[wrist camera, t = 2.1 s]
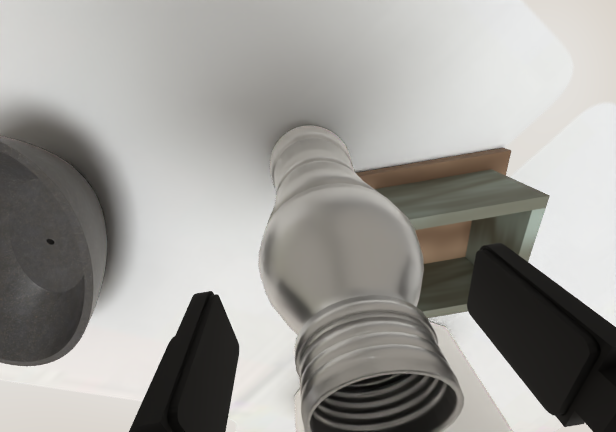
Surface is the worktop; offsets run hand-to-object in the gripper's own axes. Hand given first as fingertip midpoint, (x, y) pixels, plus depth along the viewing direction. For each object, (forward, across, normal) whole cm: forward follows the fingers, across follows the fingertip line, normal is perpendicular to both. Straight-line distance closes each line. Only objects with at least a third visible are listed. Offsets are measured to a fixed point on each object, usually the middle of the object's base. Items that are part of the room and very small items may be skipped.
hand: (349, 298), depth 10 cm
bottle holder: (+16, -11, +8) cm, 21 cm away
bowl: (+16, +24, +2) cm, 29 cm away
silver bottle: (+16, 0, -1) cm, 16 cm away
